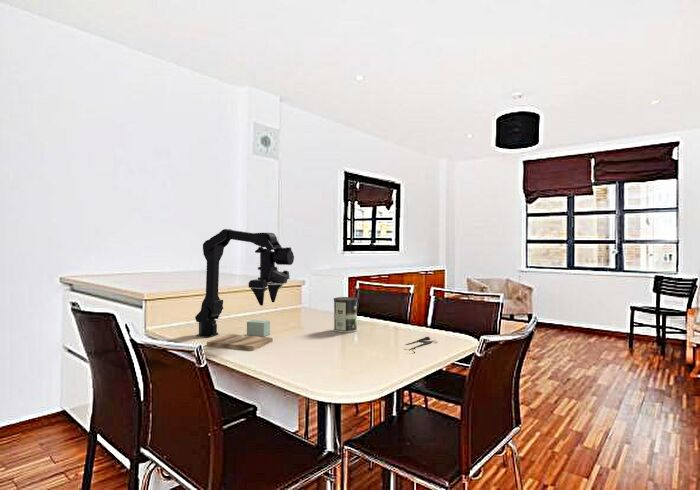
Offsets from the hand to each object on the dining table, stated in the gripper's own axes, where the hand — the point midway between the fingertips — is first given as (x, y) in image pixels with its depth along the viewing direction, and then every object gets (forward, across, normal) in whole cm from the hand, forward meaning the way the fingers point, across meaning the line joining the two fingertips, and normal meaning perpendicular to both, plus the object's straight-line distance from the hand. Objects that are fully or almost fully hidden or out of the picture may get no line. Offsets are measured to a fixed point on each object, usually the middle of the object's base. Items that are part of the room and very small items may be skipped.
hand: (267, 303), depth 169 cm
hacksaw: (+15, +11, -58) cm, 61 cm away
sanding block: (+15, +7, +8) cm, 18 cm away
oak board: (+14, -8, +7) cm, 18 cm away
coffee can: (+15, +28, -23) cm, 39 cm away
